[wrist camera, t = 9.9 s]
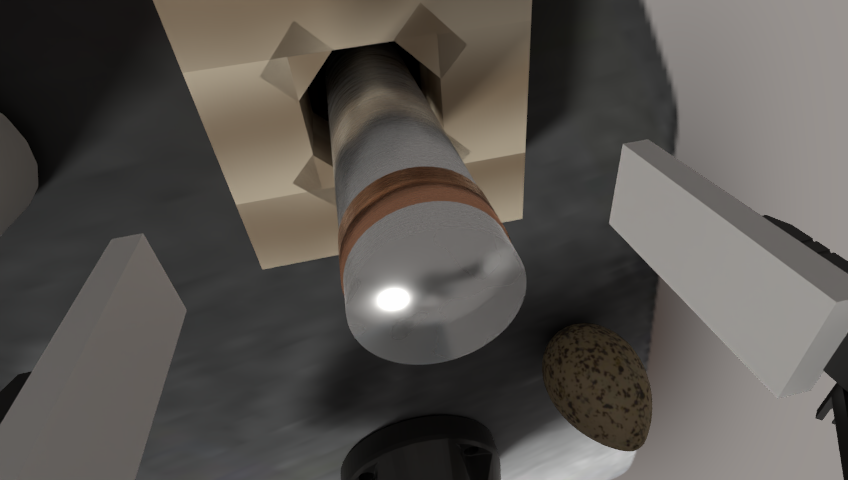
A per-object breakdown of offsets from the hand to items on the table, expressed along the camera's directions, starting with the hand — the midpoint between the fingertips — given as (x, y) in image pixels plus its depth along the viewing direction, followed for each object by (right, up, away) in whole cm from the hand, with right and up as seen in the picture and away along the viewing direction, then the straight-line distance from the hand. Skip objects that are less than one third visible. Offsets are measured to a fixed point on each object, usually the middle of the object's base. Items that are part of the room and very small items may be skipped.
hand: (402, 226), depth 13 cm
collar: (-2, +8, +10) cm, 12 cm away
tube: (-2, +8, +10) cm, 13 cm away
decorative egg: (+12, -8, +25) cm, 29 cm away
